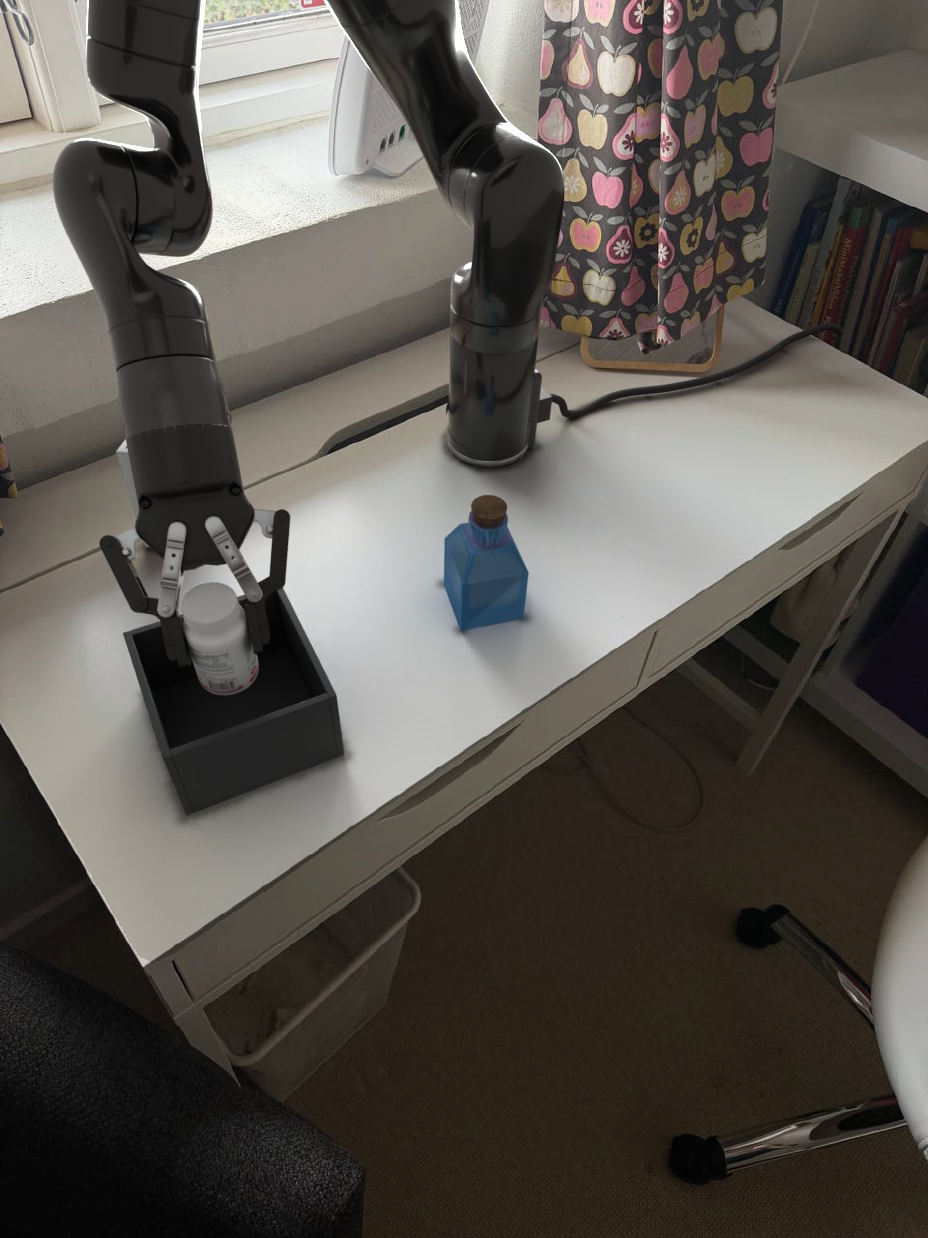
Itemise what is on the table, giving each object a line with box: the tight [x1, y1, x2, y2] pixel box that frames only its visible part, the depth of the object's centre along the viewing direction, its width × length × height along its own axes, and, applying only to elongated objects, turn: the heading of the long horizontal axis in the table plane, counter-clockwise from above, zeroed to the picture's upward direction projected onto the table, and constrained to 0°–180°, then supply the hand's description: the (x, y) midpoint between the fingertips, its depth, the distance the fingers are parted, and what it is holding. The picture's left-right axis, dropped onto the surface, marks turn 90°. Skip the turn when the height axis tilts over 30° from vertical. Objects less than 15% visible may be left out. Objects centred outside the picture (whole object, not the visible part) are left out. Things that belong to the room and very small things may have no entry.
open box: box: [122, 587, 345, 816], centre depth 72 cm, size 13×13×8 cm
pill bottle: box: [180, 581, 259, 696], centre depth 67 cm, size 5×5×8 cm
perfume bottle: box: [443, 494, 530, 631], centre depth 81 cm, size 6×6×12 cm
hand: (222, 658), depth 66 cm, fingers closed on pill bottle, 4 cm apart
